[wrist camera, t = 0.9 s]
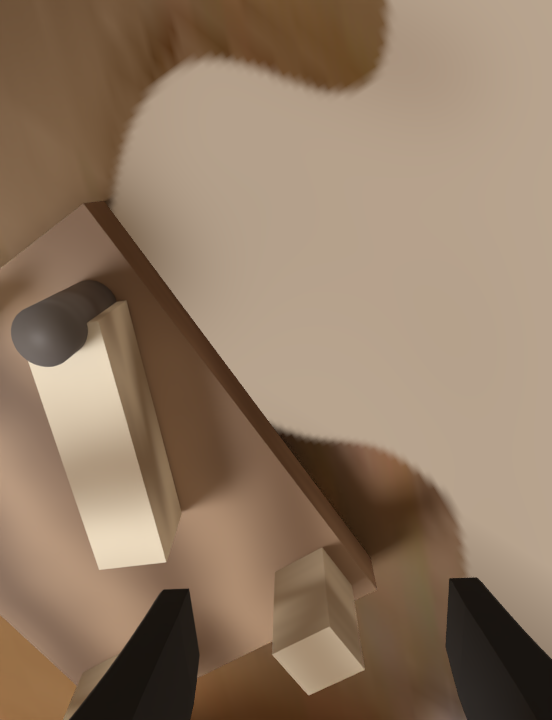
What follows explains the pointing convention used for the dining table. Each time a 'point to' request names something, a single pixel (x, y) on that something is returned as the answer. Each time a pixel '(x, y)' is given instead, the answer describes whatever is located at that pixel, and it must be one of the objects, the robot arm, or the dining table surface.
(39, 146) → the dining table surface
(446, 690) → the dining table surface
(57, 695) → the dining table surface
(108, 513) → the stool leg
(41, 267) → the stool seat
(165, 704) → the robot arm
